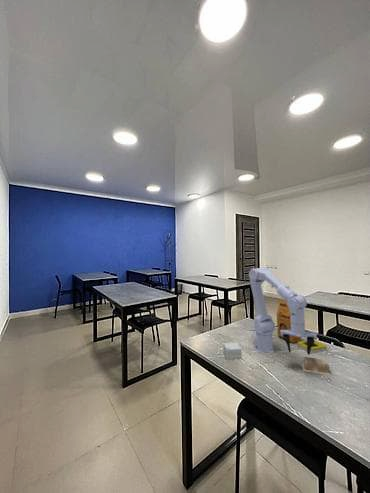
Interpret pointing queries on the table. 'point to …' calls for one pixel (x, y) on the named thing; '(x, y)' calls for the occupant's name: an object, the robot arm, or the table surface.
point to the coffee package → (285, 321)
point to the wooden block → (316, 365)
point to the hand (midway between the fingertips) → (298, 352)
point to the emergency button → (314, 349)
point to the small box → (232, 351)
